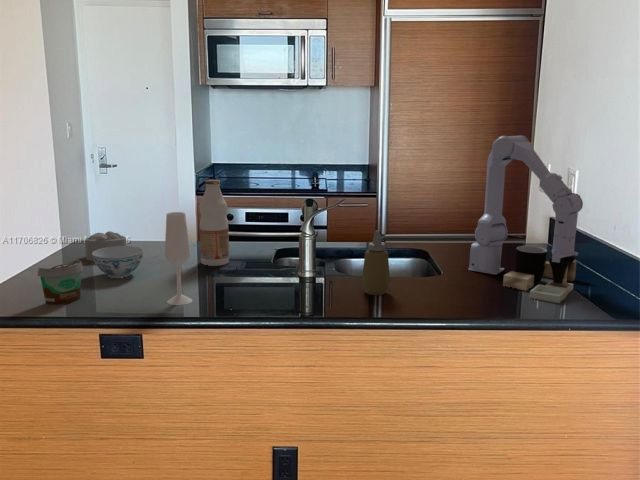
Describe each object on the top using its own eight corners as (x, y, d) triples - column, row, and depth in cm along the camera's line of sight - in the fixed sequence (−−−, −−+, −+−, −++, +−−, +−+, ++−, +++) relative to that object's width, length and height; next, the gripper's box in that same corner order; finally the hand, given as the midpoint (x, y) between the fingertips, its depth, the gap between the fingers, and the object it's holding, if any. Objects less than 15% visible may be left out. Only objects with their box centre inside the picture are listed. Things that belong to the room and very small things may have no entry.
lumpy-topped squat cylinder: (95, 254, 209) (94, 230, 207) (131, 254, 208) (130, 230, 206) (83, 261, 199) (81, 236, 197) (121, 262, 198) (119, 237, 196)
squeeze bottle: (392, 290, 169) (394, 229, 165) (386, 298, 162) (388, 235, 158) (365, 287, 172) (366, 227, 168) (357, 295, 164) (359, 232, 160)
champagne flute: (171, 297, 161) (166, 211, 156) (195, 297, 161) (191, 211, 156) (163, 304, 155) (159, 215, 150) (189, 305, 155) (185, 216, 149)
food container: (54, 309, 151) (51, 271, 149) (40, 304, 154) (36, 268, 152) (95, 296, 161) (92, 261, 159) (81, 292, 164) (78, 258, 162)
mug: (547, 286, 175) (551, 253, 172) (517, 285, 175) (520, 252, 173) (537, 275, 186) (540, 244, 184) (508, 274, 187) (510, 243, 185)
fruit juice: (201, 267, 192) (198, 182, 186) (200, 260, 201) (197, 178, 195) (230, 265, 194) (228, 181, 188) (228, 258, 203) (226, 178, 197)
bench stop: (516, 272, 189) (518, 254, 188) (519, 270, 192) (521, 252, 190) (572, 281, 179) (574, 262, 178) (574, 279, 182) (576, 260, 181)
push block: (502, 286, 174) (503, 275, 174) (510, 282, 179) (511, 271, 178) (526, 291, 170) (527, 279, 169) (533, 286, 175) (534, 275, 174)
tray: (529, 297, 163) (529, 290, 163) (537, 290, 170) (538, 284, 169) (559, 303, 159) (559, 296, 158) (566, 296, 165) (567, 289, 165)
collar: (545, 289, 171) (545, 285, 170) (551, 285, 176) (551, 280, 175) (567, 293, 167) (568, 288, 167) (573, 288, 172) (573, 283, 172)
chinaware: (105, 285, 171) (103, 260, 170) (86, 274, 182) (84, 250, 181) (153, 276, 181) (151, 252, 179) (132, 266, 192) (131, 243, 190)
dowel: (551, 288, 171) (553, 262, 169) (554, 286, 174) (557, 260, 172) (563, 291, 169) (566, 264, 167) (567, 288, 172) (569, 262, 170)
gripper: (572, 242, 160) (567, 289, 163) (585, 233, 171) (580, 278, 174) (546, 238, 164) (541, 285, 167) (560, 230, 175) (555, 274, 178)
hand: (559, 281), depth 171 cm, fingers closed on dowel, 4 cm apart
